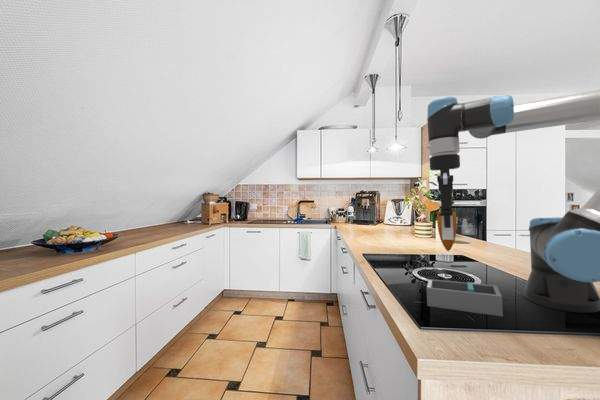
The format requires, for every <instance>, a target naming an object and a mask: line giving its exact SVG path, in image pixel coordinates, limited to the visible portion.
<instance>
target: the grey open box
mask: <svg viewBox="0 0 600 400" xmlns="http://www.w3.org/2000/svg"><path fill="white" fill-rule="evenodd" d="M472 284H473V288H474V292H468V289H467V282H464V281H463V282H462V281H453V280H442V279H441V280H440V279H432V278H430V279H428V280H427V286H426V302H427V304H426V305H427V307H430V308H431V307H432V308H437V309H445V310H453V311H460V312H467V313H473V314H474V313H475V314H481V315H489V316H495V317H504V312H503V311H504V309H503V307H504V306H503V295H502V294H501V292H500V290H499V288H498V285H495V284H484V283H476V282H475V283H474V282H472Z"/></svg>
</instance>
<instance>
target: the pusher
mask: <svg viewBox="0 0 600 400" xmlns="http://www.w3.org/2000/svg"><path fill="white" fill-rule="evenodd" d="M466 283H467V289H468V292H474V288H473V284H472V283H473V282H471V281H469V282H468V281H466Z"/></svg>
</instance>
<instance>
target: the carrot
mask: <svg viewBox="0 0 600 400" xmlns="http://www.w3.org/2000/svg"><path fill="white" fill-rule="evenodd" d="M451 201H452V205H454V204H455V201H454V199H452V198H451ZM439 202H441V198H440V200H439ZM439 213H441V210H440V211H438V212H437V214H436V221H437V230H438V234H439V238H440V241H441V243H442V246H443V247H444V249H445V250H446V251H447V252H450V251H451V249H452V248H453V246H454V242H455V241H456V240H455V239H456V235H457V227H458V226H457V225H458V223H457V222H458V221H457V213H456V212H455V210H453V212H452V213H453V214H452V216H453V236H454V240H442V221H441V216H439Z"/></svg>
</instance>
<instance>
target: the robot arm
mask: <svg viewBox="0 0 600 400" xmlns="http://www.w3.org/2000/svg"><path fill="white" fill-rule="evenodd" d="M514 102H515V101H514V98H513V96H511V95H510V94H505V95H504V94H503V95H499V96H498V95H495V96H493V97H487V98H481V99H477V100H472V101H467V102H462V103H459V102H458V99H457V98H456V97H453V96H447V97H446V96H445V97H440V98H436V99H434V100H432V101H431V102H429V104H428V105H427V118H426V121H427V122H426V123H427V133H428V134H427V135H428V144H429V145H428V144H427V145H426V149H429V150H428V153H429V156H430V157H429V159H428V160H429V169H430V170H431V171H436V172H437V171H439V173H440V175H439V176H438V175H437V176H436V178H437V179H436V180H437V184H438V191H439V192H440V199H441V201H440V203H441V204H440V205H441V208H440V211H441V213H439V216H441V221H442V240H454V236H453V216H452V214H453V213H452V212H453V211H454V210H453V204H452V201H451V199H452V192H453V191H454V190H453V189H454V188H453V187H454V186H453V182H454V175H453V174H452V175H451V174H450V170H455V169H457V170H458V169H459V168H460V167H461V159H460V158H461V156H460V155H459V154H458V153H460V151H461V149H460V137H459V136H460V135H459V133H462V132H467V131H468V133H469V134H470V136H472V137H473V138H475V139H481V140H482V139H486V138H489V137H491V136H495V135H496V136H497V135H502V134H507V133H514V132H515V133H516V132H524V131H531V130H536V129H537V130H538V129H545V128H551V127H553V128H554V127H560V126H567V125H573V124H582V123H589V122H594V121H595V122H596V121H600V89H597V90H596V89H595V90H591V91H585V92H580V93H574V94H569V95H563V96H558V97H552V98H546V99H540V100H535V101H530V102H526V103H520V104H514ZM528 231H529V243H530V244H529V245H530V264H531V265H530V266H531V267H530V268H531V271H530V274H529V275H528V279H527V282H526V284H525V286H524V297H525V299H526V300H528V301H529V302H532V303H534V304H536V305H539V306H542V307H545V308H548V309H549V308H550V309H554V310H558V311H563V312H571V313H580V314H581V313H585V314H586V313H587V314H589V313H598V312H600V294H599V292H598V290H597V288H596V287H595V285H594V283H596V282H597V283H599V282H600V187H599V188H598V189H597V190H596V191H595V192H594V193H593V194H592V195H591V197H590V198H589V199H588V201H586V203H585V204H584V205H583V206H582V207H580V208H576V209H569V210H568V211H567V212H566V213H565V214H564V215H563V217H535V218H532V219H531V220H530V221H529V226H528ZM454 241H455V240H454Z"/></svg>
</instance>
